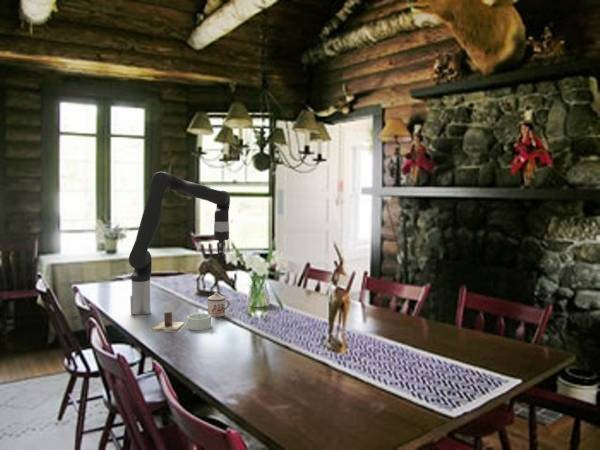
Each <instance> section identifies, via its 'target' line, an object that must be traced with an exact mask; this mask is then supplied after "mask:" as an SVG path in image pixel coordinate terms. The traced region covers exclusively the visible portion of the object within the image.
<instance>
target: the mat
mask: <svg viewBox="0 0 600 450" xmlns="http://www.w3.org/2000/svg"><path fill="white" fill-rule="evenodd" d="M186 326H187V323H185V324H184V325H183V326H182V327H181V328H180V329H179V330H178V331H154V332H163V333H166V332H167V333H179V332H180V331H182V330H183V328H184V327H186ZM148 332H152V331H151V329H149V330H148Z"/></svg>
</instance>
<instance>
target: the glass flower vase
mask: <svg viewBox="0 0 600 450" xmlns="http://www.w3.org/2000/svg"><path fill="white" fill-rule="evenodd" d="M251 283H252V282H250V283H249V284H248V286H249V289H248V292H247V295H246V305H247V306H248V307H250V306H249V303H250V289H251ZM268 290H269V289H268V287H267V283H266V282H265V299H266V304H267V306H266V307H269V306H270V304H271V303H270V302H271V299H270V298H271V297H270V293H269V291H268Z"/></svg>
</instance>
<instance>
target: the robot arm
mask: <svg viewBox="0 0 600 450" xmlns="http://www.w3.org/2000/svg"><path fill="white" fill-rule="evenodd" d="M167 190H169V191H176V192H180V193H183V194H186V195H188V196H191V197H193V198H196V199H199V200H203V201H207V202H210V203H212V204H215V205H216V209H215V211H214V223H213V224H214V225H213V240H215V241H218V242H217V244H216V245H217V249H216V250H217V256H218V258H217V259H218V260H217V261H218V264H223V262H224V261H225V253H226V247H227V244H226V241H227V240H228V241H229V240H230V223H229V218H230V217H229V211H230V204H231V203H230V202H231V196H230V194H229V193H228V192H227V191H226V190H217V189H214V188H211V187H210V186H206V185H204V184H200V183H196V182H192V181H188V180H185V179H183V178H182V179H181V178H179V177H177V176H175V175H173V174H171V173H169V172H166V171H158V172H155V173H154V174H153V175H152V177H151V180H150V187H149V191H148V196H147V200H146V204H145V206H144V209H143V213H142V215H141V216H142V217H141V219H140V222H139V228H138V230H137V234H136V237H135V240H134V243H133V246H132V248H131V250H130V253H129V257H128V263H129V266H130V267H132V268H134V269H133V273H132V274H131V295H130V315H136V316H139V315H140V316H141V315H142V316H143V315H148V314H150V313H151V312H152V311H151V307H152V306H151V303H152V302H151V276H152V275H151V274H152V254H151V253H150V251H149V247H150V243H151V241H152V240H153V238H154V237H155V235H156V233H157V231H158V229H159V227H160V223H161V219H162V216H163V214H162V213H163V207H162V203H163V199H164V196H165V194H166V193H165V192H166V191H167Z"/></svg>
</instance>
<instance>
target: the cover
mask: <svg viewBox="0 0 600 450" xmlns="http://www.w3.org/2000/svg"><path fill="white" fill-rule="evenodd" d="M163 313H164V314H163V315H164V321H158V322H157V324H155V325H154V326H153V327H151V329H150V330H151V331H150V332H155V331H178V330H179V329H180V328H181V327H182V326H183V325H184V324H186V322H185V321H173V312H172V311H165V312H163Z"/></svg>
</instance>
